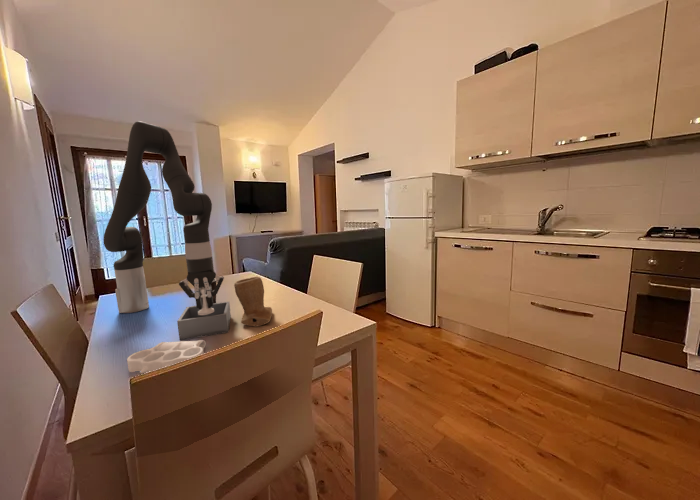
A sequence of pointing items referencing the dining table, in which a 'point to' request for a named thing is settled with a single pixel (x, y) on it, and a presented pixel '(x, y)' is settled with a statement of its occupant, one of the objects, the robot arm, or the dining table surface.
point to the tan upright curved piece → (252, 301)
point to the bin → (204, 321)
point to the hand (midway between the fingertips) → (205, 307)
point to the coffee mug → (213, 286)
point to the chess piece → (205, 304)
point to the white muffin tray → (164, 355)
